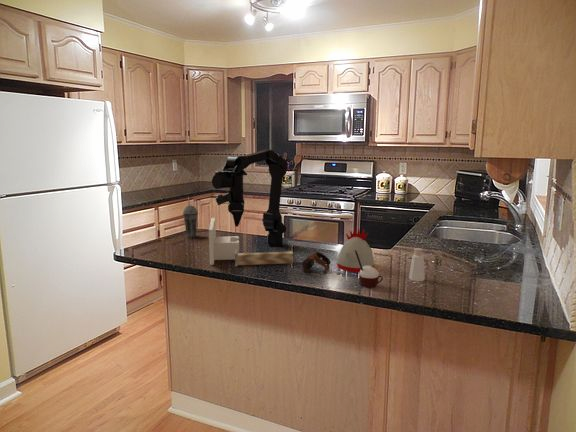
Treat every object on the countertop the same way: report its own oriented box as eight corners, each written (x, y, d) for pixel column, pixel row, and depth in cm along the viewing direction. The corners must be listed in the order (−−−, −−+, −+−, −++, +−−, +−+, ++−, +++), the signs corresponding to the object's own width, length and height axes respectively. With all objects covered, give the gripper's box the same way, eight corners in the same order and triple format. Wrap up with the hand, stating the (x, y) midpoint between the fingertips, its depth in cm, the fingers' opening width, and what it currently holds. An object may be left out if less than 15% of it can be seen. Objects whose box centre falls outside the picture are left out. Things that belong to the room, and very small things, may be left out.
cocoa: (382, 285, 141) (386, 250, 139) (379, 290, 136) (383, 255, 134) (354, 280, 145) (357, 247, 143) (350, 285, 139) (353, 250, 137)
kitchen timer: (371, 273, 152) (373, 233, 150) (334, 270, 156) (335, 231, 154) (375, 263, 165) (377, 226, 163) (340, 260, 169) (341, 223, 167)
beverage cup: (201, 235, 211) (200, 196, 208) (192, 238, 205) (191, 198, 201) (190, 234, 214) (188, 195, 211) (180, 237, 208) (179, 197, 204)
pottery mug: (309, 267, 162) (320, 250, 160) (325, 282, 157) (337, 265, 154) (291, 266, 152) (302, 248, 150) (308, 283, 147) (320, 264, 145)
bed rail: (291, 259, 170) (291, 247, 169) (294, 264, 164) (294, 252, 163) (235, 261, 167) (234, 249, 166) (235, 266, 161) (234, 254, 160)
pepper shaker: (418, 282, 143) (420, 251, 141) (405, 278, 147) (407, 248, 145) (428, 279, 146) (430, 249, 144) (415, 275, 150) (416, 245, 148)
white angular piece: (238, 248, 187) (238, 217, 185) (239, 263, 164) (239, 228, 161) (212, 248, 186) (211, 217, 183) (209, 264, 162) (208, 229, 160)
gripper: (218, 184, 180) (219, 220, 182) (214, 189, 161) (215, 229, 164) (244, 184, 181) (244, 219, 183) (243, 189, 162) (244, 228, 165)
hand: (237, 224), depth 174 cm, fingers open, 9 cm apart
